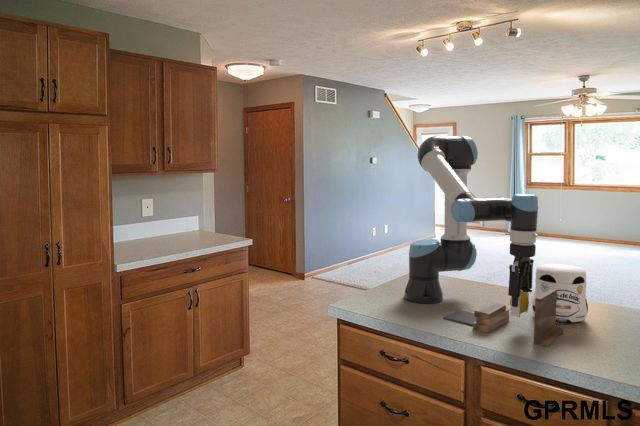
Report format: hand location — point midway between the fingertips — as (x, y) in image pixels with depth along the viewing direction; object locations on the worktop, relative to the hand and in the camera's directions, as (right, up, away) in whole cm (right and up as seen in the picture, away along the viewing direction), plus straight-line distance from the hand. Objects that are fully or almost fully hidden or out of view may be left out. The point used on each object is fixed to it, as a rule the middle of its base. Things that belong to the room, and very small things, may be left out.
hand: (519, 313), depth 153 cm
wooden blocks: (0, -6, 0) cm, 6 cm away
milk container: (+18, -5, +12) cm, 22 cm away
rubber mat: (-13, -5, +14) cm, 19 cm away
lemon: (0, -1, 0) cm, 1 cm away
